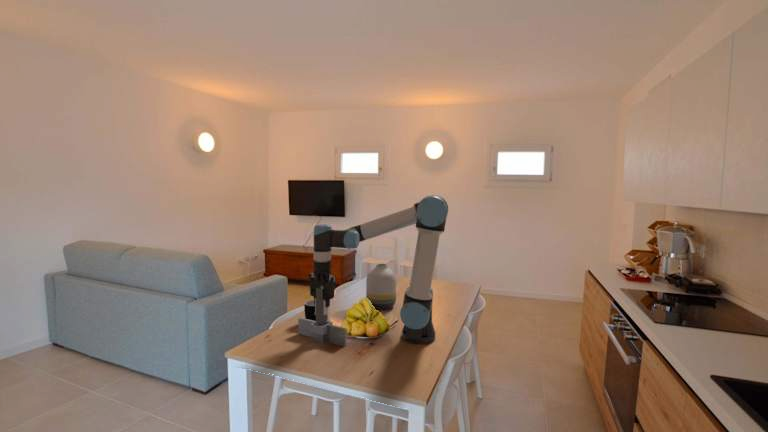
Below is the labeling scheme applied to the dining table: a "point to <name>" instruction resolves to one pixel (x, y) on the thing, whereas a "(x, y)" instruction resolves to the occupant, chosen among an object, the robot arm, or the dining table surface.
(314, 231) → the robot arm
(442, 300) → the dining table surface
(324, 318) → the pin
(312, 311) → the mug
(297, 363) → the dining table surface
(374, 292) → the vase
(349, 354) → the dining table surface
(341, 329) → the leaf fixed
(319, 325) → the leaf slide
